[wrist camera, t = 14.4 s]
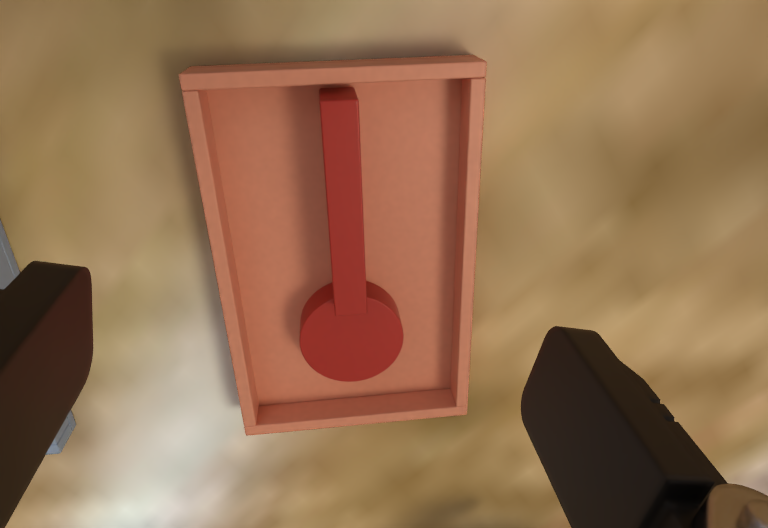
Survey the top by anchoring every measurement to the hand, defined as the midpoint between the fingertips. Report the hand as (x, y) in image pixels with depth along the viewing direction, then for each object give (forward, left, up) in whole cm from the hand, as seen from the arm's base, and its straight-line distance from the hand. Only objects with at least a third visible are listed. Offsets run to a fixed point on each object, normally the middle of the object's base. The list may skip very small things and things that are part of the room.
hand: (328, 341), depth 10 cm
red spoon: (+6, +1, -15) cm, 16 cm away
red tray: (+6, +1, -15) cm, 16 cm away
